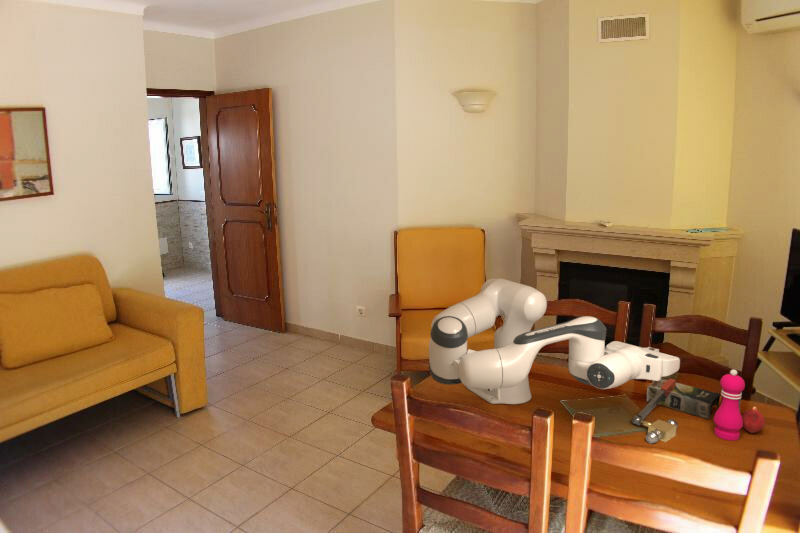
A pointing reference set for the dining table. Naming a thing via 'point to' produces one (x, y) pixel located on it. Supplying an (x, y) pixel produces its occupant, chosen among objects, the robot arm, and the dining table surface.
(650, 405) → the valve lever
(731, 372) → the pepper mill
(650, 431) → the valve body
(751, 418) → the onion
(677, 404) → the juice carton
